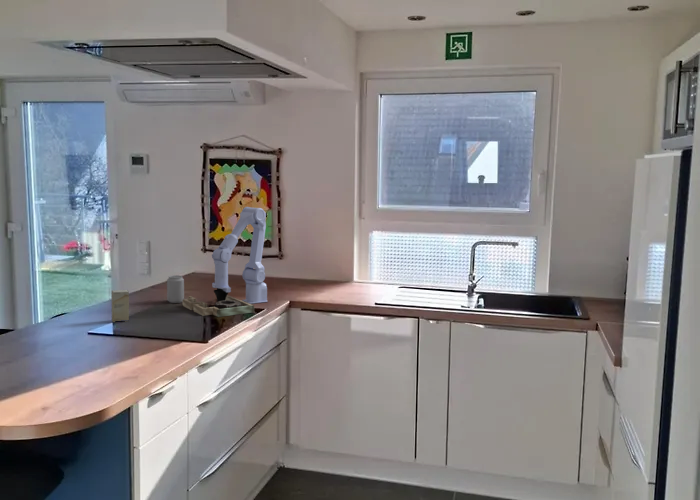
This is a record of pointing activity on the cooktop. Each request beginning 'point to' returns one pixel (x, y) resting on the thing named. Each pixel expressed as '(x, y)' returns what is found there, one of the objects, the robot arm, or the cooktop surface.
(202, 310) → the beige square zigzag bar
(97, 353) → the cooktop surface
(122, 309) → the skincare box
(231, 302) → the donut
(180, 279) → the can
